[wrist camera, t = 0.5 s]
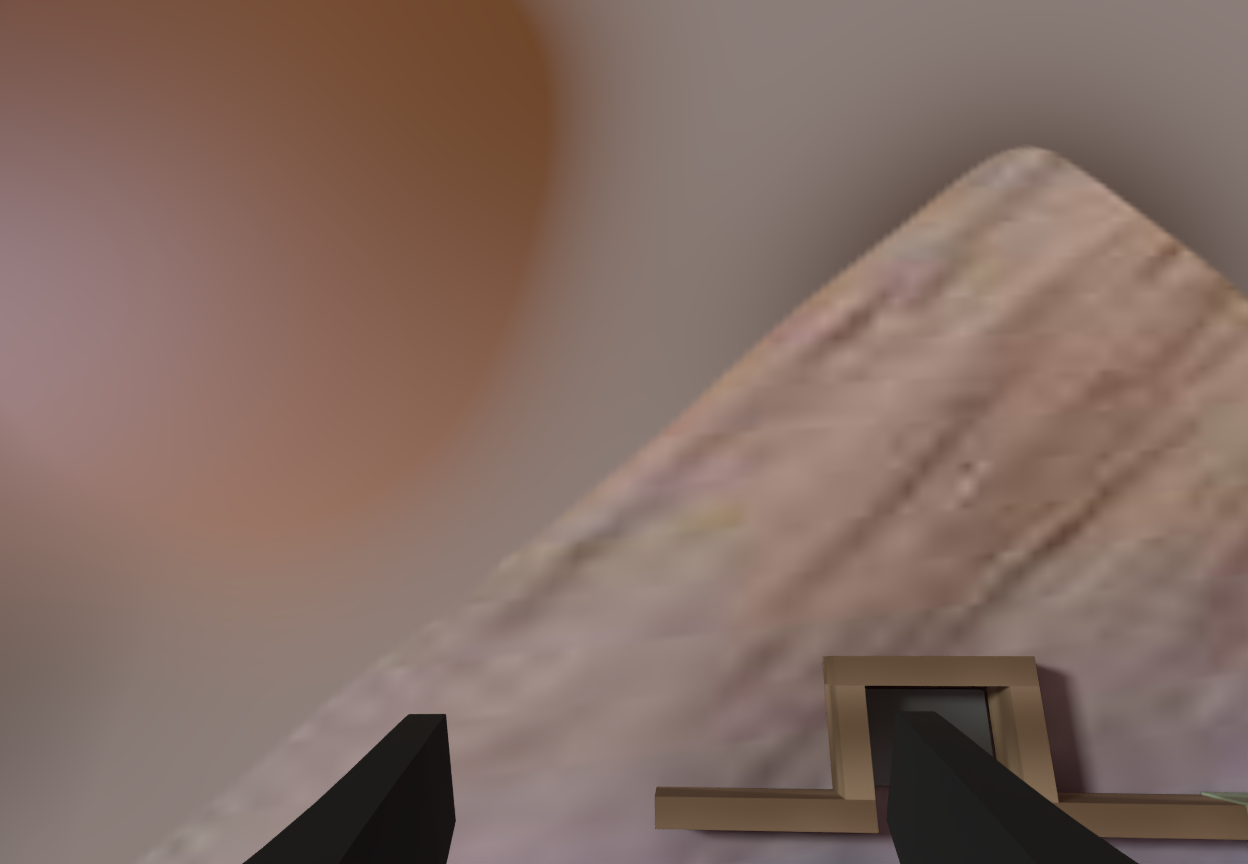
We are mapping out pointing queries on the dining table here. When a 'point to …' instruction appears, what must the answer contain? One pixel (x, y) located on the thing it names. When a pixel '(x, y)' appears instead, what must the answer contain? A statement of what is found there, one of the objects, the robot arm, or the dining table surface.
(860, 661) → the channel
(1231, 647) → the dining table surface
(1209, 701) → the dining table surface
